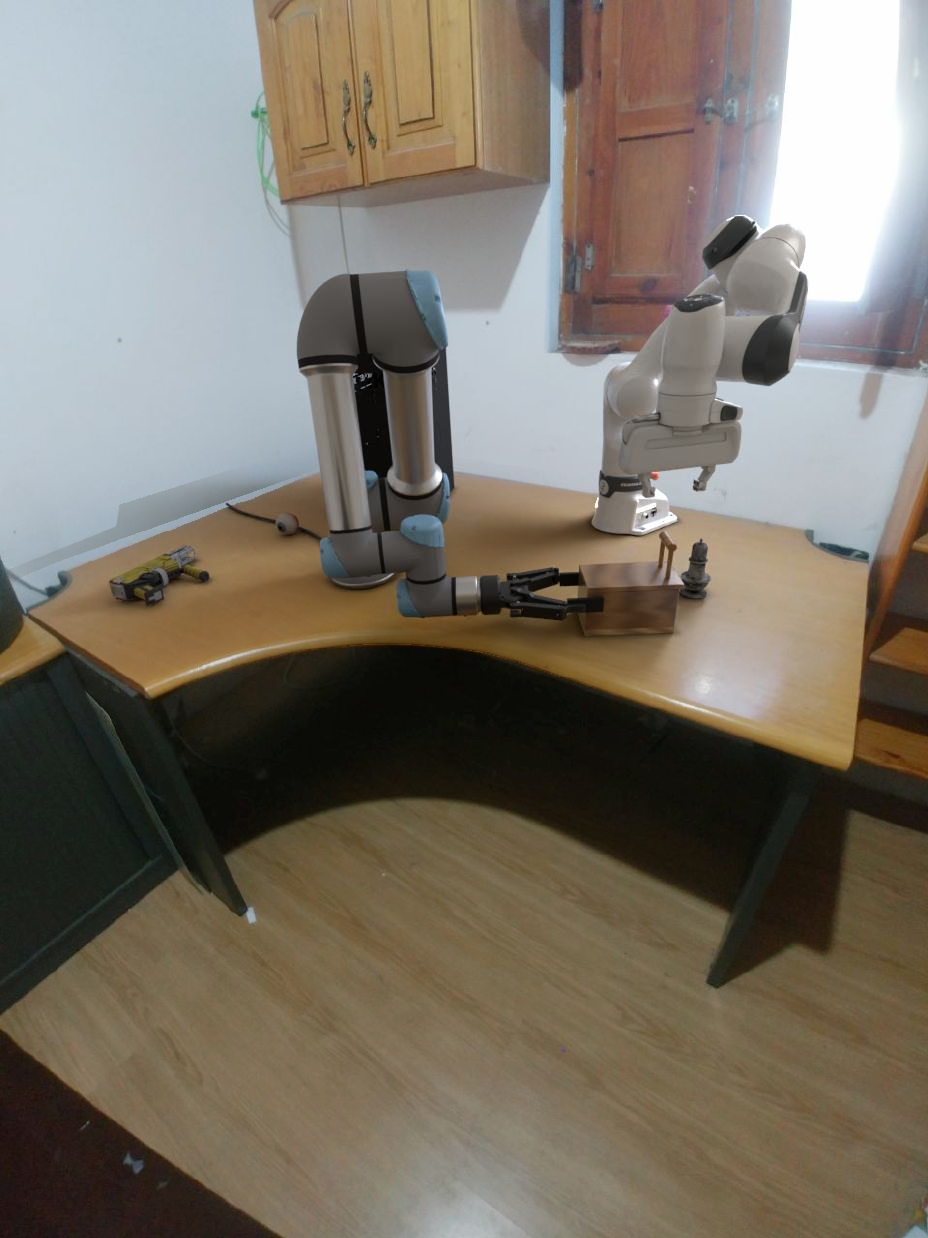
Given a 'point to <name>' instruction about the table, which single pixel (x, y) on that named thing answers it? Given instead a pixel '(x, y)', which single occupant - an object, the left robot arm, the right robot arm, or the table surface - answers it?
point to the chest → (630, 612)
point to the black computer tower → (376, 417)
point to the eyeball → (287, 523)
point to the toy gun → (155, 576)
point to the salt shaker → (696, 572)
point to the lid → (634, 573)
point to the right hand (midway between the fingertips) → (673, 493)
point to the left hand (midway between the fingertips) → (597, 590)
